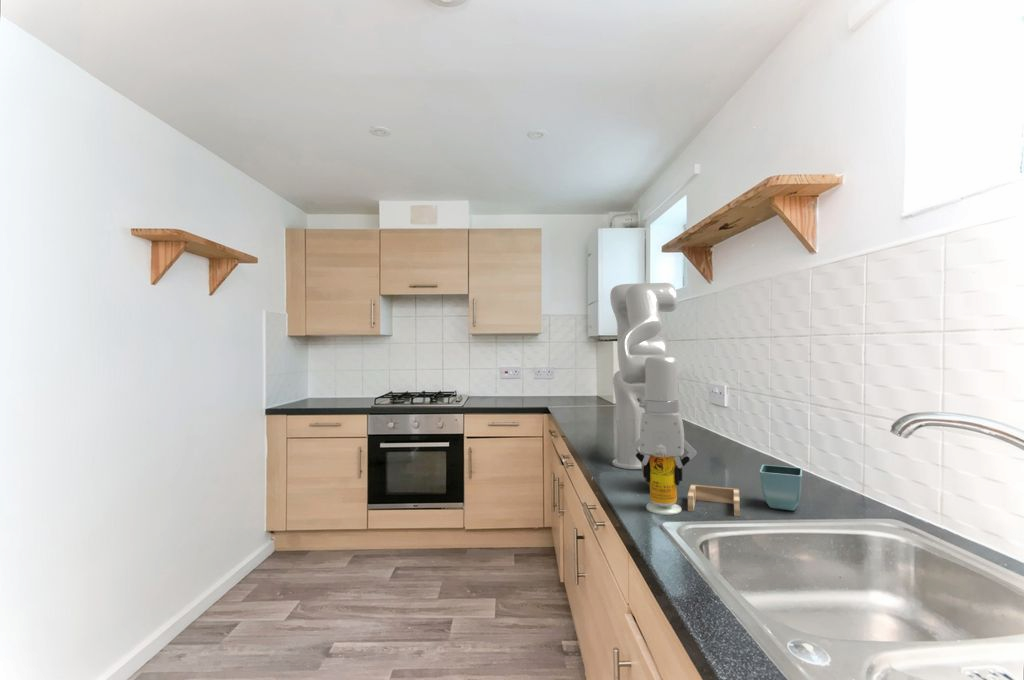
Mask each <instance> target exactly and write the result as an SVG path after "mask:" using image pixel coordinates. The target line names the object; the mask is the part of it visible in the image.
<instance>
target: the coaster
mask: <svg viewBox="0 0 1024 680" xmlns="http://www.w3.org/2000/svg"><path fill="white" fill-rule="evenodd" d="M646 510H647V511H648V512H650V513H652V514H655V515H661V516H673V515H674V516H675V515H679V514H681V513H682V507H681V505H679V504H677V503H674V505H673V506H658V505H655V504H653V502H652V501H651V502H649V503H647V504H646Z"/></svg>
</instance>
